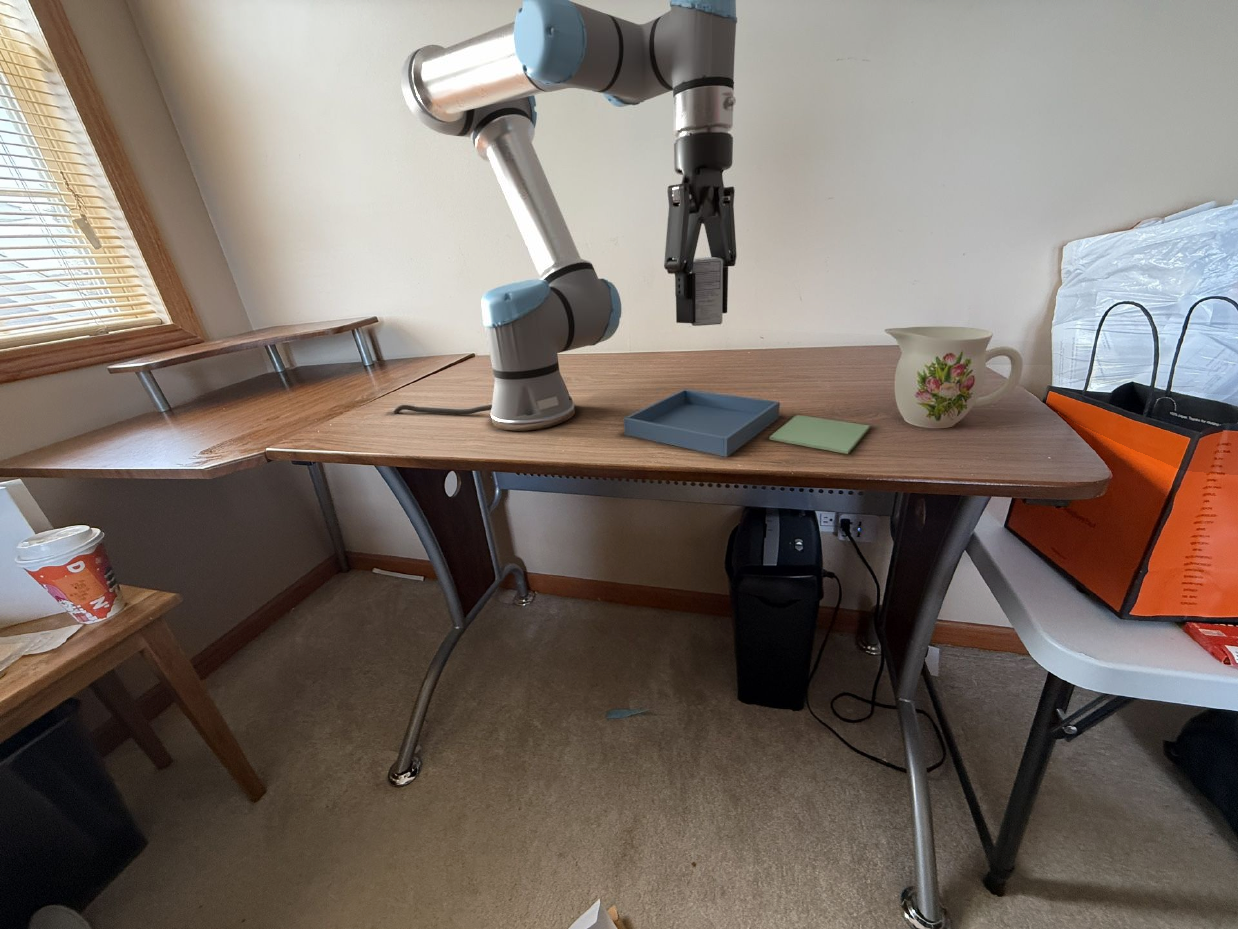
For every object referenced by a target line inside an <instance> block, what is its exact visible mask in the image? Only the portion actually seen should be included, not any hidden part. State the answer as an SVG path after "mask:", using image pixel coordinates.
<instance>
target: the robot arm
mask: <svg viewBox="0 0 1238 929" xmlns="http://www.w3.org/2000/svg"><path fill="white" fill-rule="evenodd" d="M669 7H670V10H669V11H667V12H665V13H663V14H662V15H660V16H658V17H656V18H654V19H652V20H650V21H648V22H646V23H642V24H638V23H635V22H633V21H629V20H627V19H623V18H620V17H617V16H615V15H612V14H609V13H605V12H603V11H599V10H597V9H594V8H591V7H588V6H586V5H583V4H579V3H577V2H574V1H571V0H523V1H522V6H521V7H520V8H518V10H517V12H516V15H515V20H514V21H512V22H509V23H507V24H504V25H502V26H499V27H497V28H494V29H491V30H488V31H486V32H484V33H481V34H478V35H476V36H473V37H471V38H468V39H466V40H463V41H460V42H458V43H455V44H453V45H450V46H448V47H444V46H441V45H438V44H429V45H424V46H423V47H420V48H417V49H416V50H414V51H413V52H412V53H410V54H409V55H408V56H407V57H406V59H405V61H404V63H403V66H402V67H401V73H400V74H401V75H400V86H401V91H402V95H403V97H404V100H405V103H406V105H407V106H408V108H409V110H410V111H411V112H412V114H413V115H414V117H415V118H416V119H418V121H419V122H420V123H422V124H423V125H424V126H426V127H427V128H428V129H430V130H432V131H434V132H436V133H438V134H441V135H445V136H446V135H447V136H453V137H462V138H469V139H470V140H471V142H472V144H473V147H474V148H475V151H476V154H477V155H478V157H479V158H480V159H481V160H483V161H485V162H488V163H490V165H491V168H492V170H493V173H494V175H495V177H496V179H497V182H498V184H499V186H500V189H501V191H502V192H503V193H502V194H503V195H504V198H505V200H506V203H507V205H508V207H509V209H510V212H511V214H512V216H513V219H514V221H515V223H516V225H517V228H518V230H519V233H520V235H521V237H522V239H523V241H524V244H525V246H526V249H527V251H528V254H529V255H530V258H531V260H532V262H533V263H532V264H533V265H534V267H535V270H536V272H537V274H538V276H539V277H538V278H536V279H527V280H522V281H517V282H512V283H508V284H504V285H501V286H500V285H499V286H498V287H495V288H492V289H489V290H488V291H487V292H485V293H484V294H483V296H482V297H481V300H480V301H481V302H480V305H481V316H482V319H481V320H482V324H483V326H484V331H485V336H486V342H487V346H488V351H489V352H488V353H489V358H490V363H491V368H492V374H493V378H494V387H493V393H492V401H491V404H487V405H481V406H477V407H471V408H463V409H462V408H460V409H459V408H445V407H444V408H443V407H430V406H429V407H427V406H415V405H411V404H410V405H409V404H401V405H398V406H397V407H395V409H393V411H392V414H393V415H397V414H399V413H400V412H401V411H411V412H415V413H416V412H417V413H432V414H445V415H447V414H448V415H471V414H477V413H480V412H486V411H490V418H491V423H492V426H494V427H495V428H498V429H501V430H505V431H515V432H519V431H521V432H522V431H533V430H540V429H546V428H551V427H553V426H557V425H559V424H562V423H565V422H567V421H569V419H571V418H572V417H573V416H575V413H576V410H575V403H574V400H573V398H572V396H571V395H570V393H569V389H568V387H567V386H566V382H565V381H564V378H563V376H562V374H561V372H560V371H561V370H560V364H559V356H558V354H560V353H564V352H569V351H573V350H577V349H580V348H585V347H591V346H596V345H598V344H599V343H602V342H605V341H607V340H609V339H611V338H612V337H613V336H614V335H615V333H617V330H618V329H619V325H620V322H621V321H620V319H621V318H622V300H621V296H620V293H619V291H618V289H617V287H616V286H615V284H614V283H613V282H611V281H609V280H608V279H605V278H599V277H598V274H597V272H596V270H595V266H594V265H593V263H592V262H591V261H589V260H587V259H584V258H582V256H581V255H580V252H579V250H578V248H577V245H576V243H575V241H574V239H573V236H572V234H571V232H570V230H569V227H568V225H567V223H566V219H565V217H564V215H563V212H562V211H561V207H560V205H559V203H558V201H557V199H556V197H555V194H554V191H553V190H552V187H551V185H550V182H549V180H548V177H547V176H546V173H545V171H544V169H543V166H542V164H541V161H540V160H539V156H538V154H537V151H536V150H535V147H534V144H533V141H534V138H535V135H536V134H535V130H536V126H537V120H538V113H537V111H536V110H535V108H536V107H537V101H536V97H535V96H536V95H541V94H544V93H550V92H556V91H562V90H565V89H579V90H584V91H592V92H594V93H599V94H602V96H603V97H604V98H605V99H607V100H608V102H610V104H611V105H612V106H614V107H616V108H617V107H618V108H624V107H629V106H638V105H640V104H641V103H644V102H645V101H648V100H651V99H654V98H656V97H659V96H662V95H664V94H666V93H667V94H668V93H669V92H672V95H673V96H672V97H673V98H672V103H673V104H672V108H673V109H672V127H673V129H672V130H673V132H672V133H673V135H674V136H675V137H676V138H677V139H676V140H675V142H674V143H673V155H674V156H673V158H674V160H673V162H674V163H673V164H674V166H673V167H674V172H675V174H677V175H681V176H682V179H681V183H677V184H671V185H668V187H667V189H666V190H667V200H668V201H667V202H668V212H667V223H666V224H667V225H666V235H665V236H666V237H665V248H664V261H663V267H664V270H666V272H667V274H669V275H674V289H675V291H674V295H675V317H676V318H675V319H676V320H675V321H676V323H677V324H691V323H696V306H695V273H690V272H691V270H692V265H693V261H694V259H695V257H696V251H697V247H698V242H699V237H700V233H701V228H702V225H703V226H704V230H705V235H706V239H707V243H708V249H709V253H710V257H716V258H721V259H722V261H723V293H722V314H727V313H728V300H729V299H728V296H729V267H735V266H736V262H737V254H738V253H737V241H736V240H737V239H736V224H735V223H736V222H735V208H734V207H735V206H734V204H735V190H736V189H735V186H725V184H724V179H723V173H724V171H727V170H729V169H730V168H731V167H732V166H733V155H734V154H733V152H734V151H733V150H734V136H732V134H731V133H729V132H730V131H731V130H732V129H733V128H734V106H735V105H736V101H737V99H736V97H735V96H734V94H735V93H734V91H735V81H734V80H735V79H734V78H735V56H736V54H735V52H736V51H735V50H736V34H737V23H738V16H737V0H669Z"/></svg>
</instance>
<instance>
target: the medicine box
mask: <svg viewBox="0 0 1238 929" xmlns="http://www.w3.org/2000/svg"><path fill="white" fill-rule="evenodd" d="M690 273H695V306H696V323H690V324H691V326H693V327H701V326H702V327H703V326H715V325H722V324H723V313H722V293H723V261H722V259H721V258H716V257H711V256H710V257H696V258H695V257H694V261H693V265H692V270H691V272H690Z"/></svg>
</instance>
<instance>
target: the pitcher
mask: <svg viewBox="0 0 1238 929" xmlns="http://www.w3.org/2000/svg"><path fill="white" fill-rule="evenodd" d="M884 332H885V333H886V334H887V335H889V336H891V337H892V338H893V339H894V340H896V343H897V344H898V346H899V349H900V352H901V355H900V357H899V360H898V362H897V365H896V370H895V375H894V397H895V402H896V406H897V409H898V412H899V413H900V415H901V416H902V418H903V420H904V421H905V422H906V423H908V424H909V425H913V426H916V427H918V428H919V427H920V428H925V429H948V428H952V427H954V426H955V425H956V424H958V423H959V422H960V421H961V420H963V418H965V417H966V415H967V414H968V413H969V412H970V411H971V409H976V408H981V407H986V406H989V405H992V404H995V403H997V402H1000V401H1001V400H1002V399H1004V398H1006V397H1007V396H1008V395H1009V394H1010V393H1012V391H1013V390H1015V388H1016V387H1017V386H1018V383H1019V381H1020V380H1021V376H1022V373H1023V369H1024V361H1023V358H1022V355H1021V353H1020V352H1019V351H1018V350H1017V349H1016V348H1014V347H1010V346H997V347H993V348H990V349H987V348H988V346H989V344H990V342H991V340H992V338H993V333H992V332H991V331H989V330H986V329H980V328H975V327H964V326H909V327H894V328H885V329H884ZM997 357H1007V358H1008V359H1009V362H1010V366H1011V367H1010V369H1011V370H1010V372H1009V375H1008V378H1007V380H1006V381H1005V383H1004V384H1003V385H1002V386H1001V387H1000V388H998V389H997V390H995V391H994V392H991V393H989V394H987V395H984V396H980V394H981V392H982V389H983V386H984V384H985V379H986V375H987V363H988V362H989V361H990V360H992V359H995V358H997ZM979 396H980V397H979Z"/></svg>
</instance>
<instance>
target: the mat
mask: <svg viewBox="0 0 1238 929" xmlns="http://www.w3.org/2000/svg"><path fill="white" fill-rule="evenodd" d="M870 427H871V426H870V425H868V424H861V423H854V422H849V421H843V420H842V421H841V420H834V419H827V418H820V417H814V416H807V415H800V414H796V415H795V416H793V417H792V418H791V419H790V420H789V421H787V422H786V423H785V424H783V425H782V426H781V427H779V428H778V429H777V430H776V431H774V432H773V433H772V434H771V435H770V436H769V437H768V438H769V439H768V440H769V441H775V442H780V443H786V444H789V445H790V444H791V445H795V446H802V447H808V448H812V449H818V450H823V451H830V452H834V453H840V454H845V455H848V454H849V453H850V452H851V451H852V450H853V448H855V446H856V445H857V444H858V443H859V441H860V440H861V439H862V438H863V437H864V436H865V435H866V433H867V432H868V431H869V430H870Z"/></svg>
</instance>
